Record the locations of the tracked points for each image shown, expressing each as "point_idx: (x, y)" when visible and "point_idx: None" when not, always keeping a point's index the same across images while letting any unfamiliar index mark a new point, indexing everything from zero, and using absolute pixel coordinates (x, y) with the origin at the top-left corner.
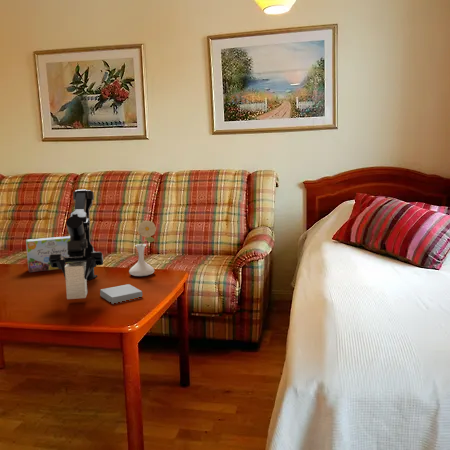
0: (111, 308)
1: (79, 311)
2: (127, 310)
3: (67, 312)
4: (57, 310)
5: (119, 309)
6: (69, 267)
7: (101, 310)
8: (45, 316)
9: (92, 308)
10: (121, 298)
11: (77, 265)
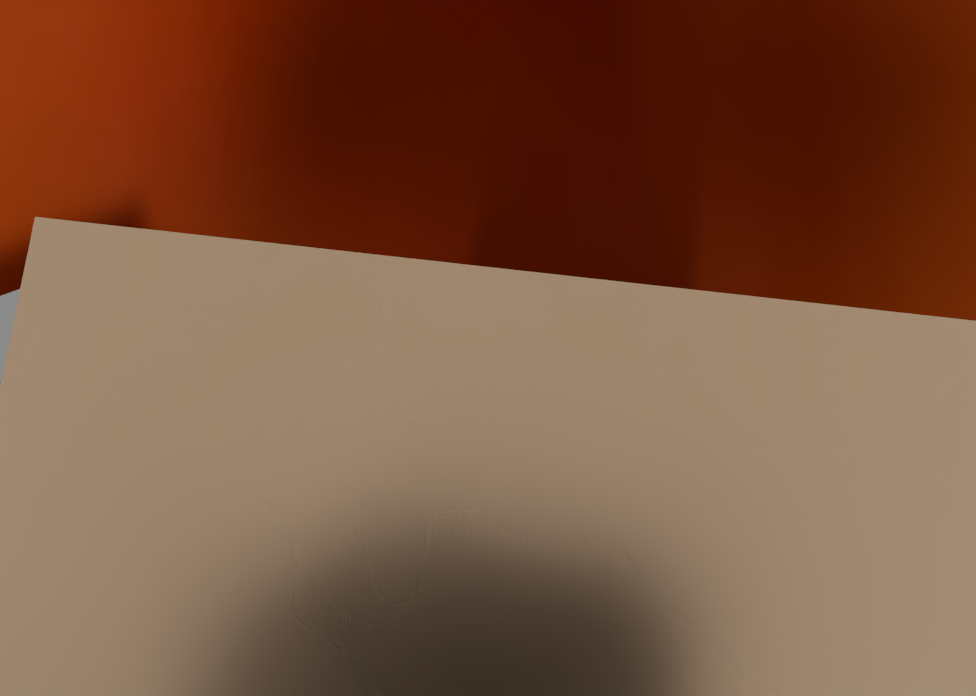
0: (164, 134)
1: (531, 144)
2: (17, 14)
3: (680, 153)
4: (819, 276)
5: (88, 72)
6: (751, 302)
7: (278, 100)
8: (963, 86)
9: (372, 206)
10: None
11: (311, 432)
